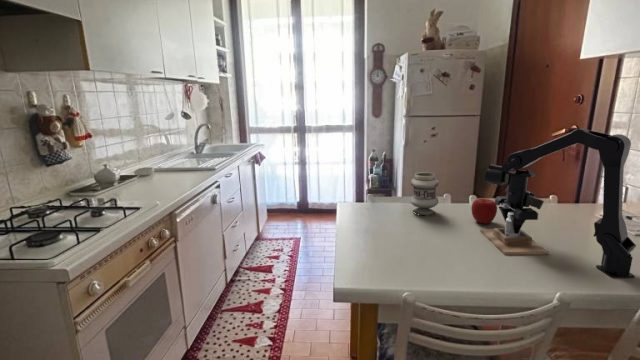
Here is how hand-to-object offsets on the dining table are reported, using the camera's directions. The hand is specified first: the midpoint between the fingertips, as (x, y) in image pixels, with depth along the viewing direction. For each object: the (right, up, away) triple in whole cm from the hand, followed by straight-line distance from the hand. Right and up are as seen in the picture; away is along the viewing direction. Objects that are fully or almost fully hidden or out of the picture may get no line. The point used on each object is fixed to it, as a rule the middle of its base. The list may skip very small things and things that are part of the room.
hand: (512, 230), depth 123 cm
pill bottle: (0, -2, +1) cm, 2 cm away
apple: (-1, 0, +21) cm, 21 cm away
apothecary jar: (-21, +3, +35) cm, 41 cm away
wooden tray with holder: (0, -4, +1) cm, 4 cm away
